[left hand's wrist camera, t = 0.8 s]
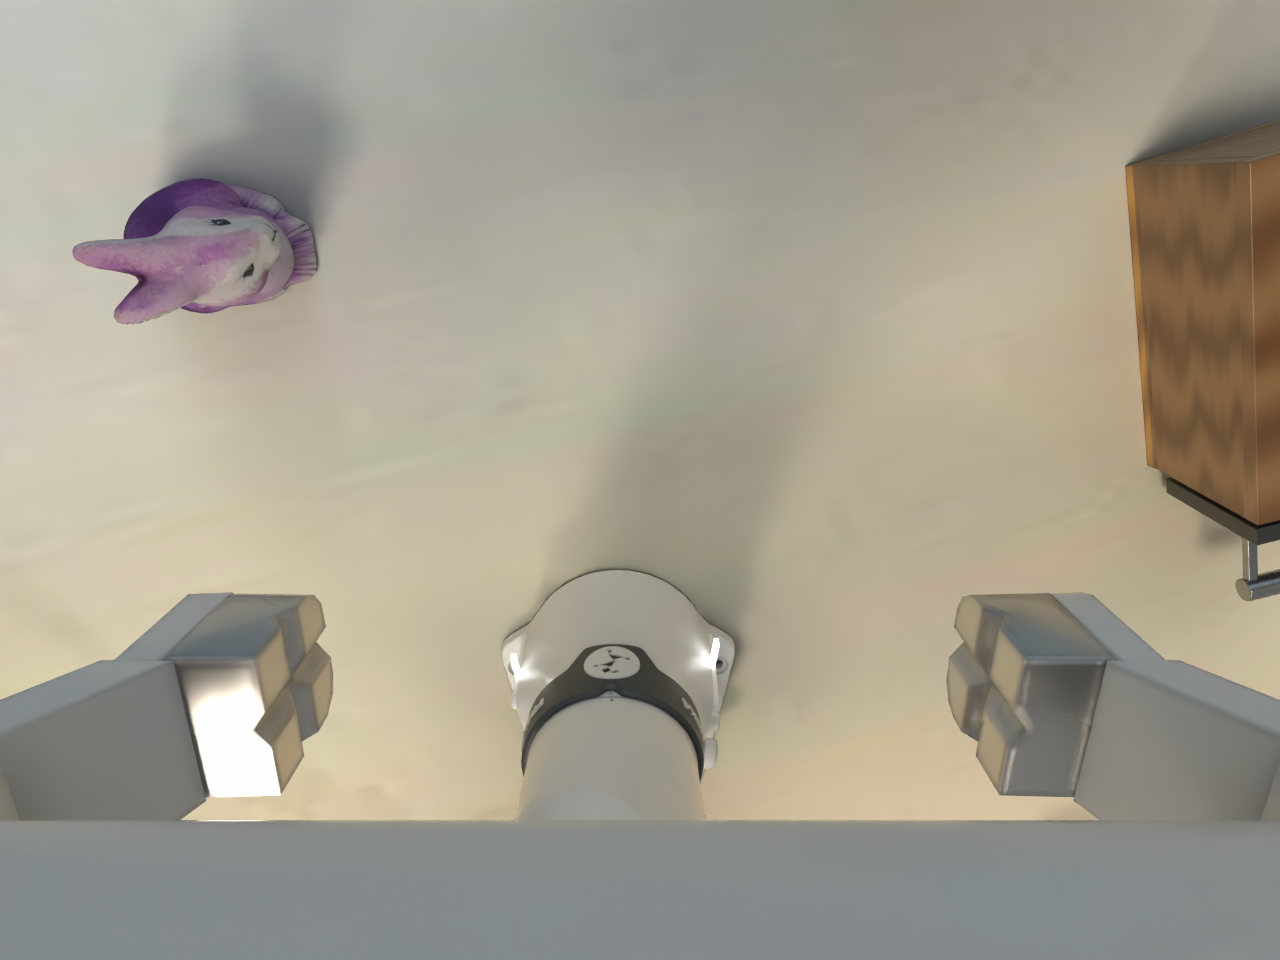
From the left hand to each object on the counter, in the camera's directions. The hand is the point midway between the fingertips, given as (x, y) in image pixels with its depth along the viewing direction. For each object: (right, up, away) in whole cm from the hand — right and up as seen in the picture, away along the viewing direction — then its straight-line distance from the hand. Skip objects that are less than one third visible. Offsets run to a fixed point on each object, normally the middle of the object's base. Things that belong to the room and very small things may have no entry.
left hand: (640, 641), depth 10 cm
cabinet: (+40, +14, +44) cm, 61 cm away
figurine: (-26, +18, +43) cm, 54 cm away
